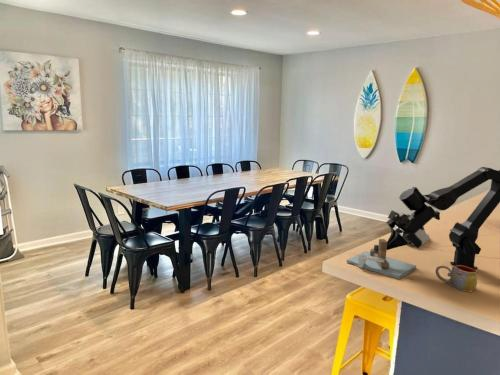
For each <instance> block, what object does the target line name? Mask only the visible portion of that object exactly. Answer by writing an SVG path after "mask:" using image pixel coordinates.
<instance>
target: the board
mask: <svg viewBox="0 0 500 375" xmlns="http://www.w3.org/2000/svg"><path fill="white" fill-rule="evenodd" d="M360 254H364V255H366V256H371V255H370V251H367V250H365V251H363V252H361V253H358V254H356V255H354V256H352V257H350V258H348V259H346V263H347V264H350V265H354V266H356V267H358V257H359V255H360ZM372 257H373V256H372ZM386 261H387V262H388V263H389V268H381V266H380V265H379V264H378V262H377V261H372V260H366V264H365V265H364V268H363V269H365V268H366V270H369V271H372V272H376V273H378V274H381V275H384V276H388V277H390V278H393V279H397V280H400V279H401V278H403V277H404V276H406V275H407V274H409V273H411V272H412V271H414V270H415V269H416V268H417V265H416V264H412V263H409V262H406V261H401V260H398V259H395V258H391V257H388V256H386Z"/></svg>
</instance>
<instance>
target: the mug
mask: <svg viewBox="0 0 500 375" xmlns="http://www.w3.org/2000/svg"><path fill="white" fill-rule="evenodd" d="M440 269H446V270H447V271H448V273H447V276H448V277H449V279H447V278H445V277H442V275H441V274H440V273H439V270H440ZM478 272H479V271H478V269H472V268H470V267H467V266H463V265H456V266H454V265H452V267H451V268H449V266H446V265H440V266H437V267H436V268H435V275H436V277H437V278H438V279H439V280H441V281H442V282H444V283H446V284H448V285H451V286H452V287H454V288H455V289H457V290H459V291H462V292H467V293H473V291H474V290H476V288H477V285H478V279H477V276H478Z"/></svg>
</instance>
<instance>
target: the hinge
mask: <svg viewBox="0 0 500 375" xmlns="http://www.w3.org/2000/svg"><path fill="white" fill-rule="evenodd" d="M423 228H424V229H423V230H421V229H420V230H419V231H417V232H416V233H415V235H416V236H417V237H418V238H419V239H420V240H421V241H422V246H423V245H424V244H426V242H428V241H429V240H430V239H431V238H430V235H429V234H428V233H427V232H426V230H425V225H424V226H423ZM409 244H410V245H412V246H413V244H412V243H411V241H410V242H409Z"/></svg>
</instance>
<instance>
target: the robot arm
mask: <svg viewBox="0 0 500 375" xmlns="http://www.w3.org/2000/svg"><path fill="white" fill-rule="evenodd" d="M488 180H491V182H490V189H489V191H488V192H487V193H486V194H485V196H484V197H483V198H482V199H481V200H480V202H479V203H478V204H477V206H476V207H475V208H474V210H473V211H472V212H471V214H470V215H469V216H468V217H467V219H466V220H465V221H464V222H458V221H457V222H455V223H454V225H453V227H452V228H450V229H449V231H450V232H449V234H448V237H449V241H450V242H451V244H452V246H453V248H455V250H454V255H453V256H454V257H453V261H450V262H449V263H450V264H451V265H452V266H456V265H463V266H467V267H470V268H472V269H475V270H478V267H477V266H476V265H475V260H476V255H479V254H480V252H481V251H482V248H481V247H480V246H479V245H478V244H477V243H476V241H477V240H478V237H479V230H480V228H481V227H482V225H483V224H484V223H485V222H486V220H487V219H488V218H489V217H490V216H491V214H492V213H493V212H494V211H495V209H496V208H497V207H498V206H499V204H500V169H499V170H496V169H494V168H491V167H486V166H481V167H479V168H478V169H477V170H476V171H474V172H472V173H471V174H469V175H467V176H465V177H464V178H462V179H460V180H459V181H456V182H454V183H453V184H452V185H450V186H447V187H444V188H439V189H437V190H434V191H431V192H430V193H429V194H422V193H421V191H420V189H419V188H418V187H416V186H412V187H411V188H409V189H406V190H405V191H402V193H401V194H400V195H399V197H398V199H399V200H400V201H401V202H402V203H403V205H404V206H405V207H406V208H407V209H408V210H409V211H413V212H412V213H411V214H405V213H403V212H401V213H398V212H397V211H394V210H391V211H390V213H389V214H388V217H387V219H388V220H387V221H386V222H385V223H386V224H387V225H388V226H389V228H390V236H389V237H388V239H387V240H386V241H387V250H386V251H389V250H392V249H395V248H399V247H403V246H410V245H412V244H413V245H412V246H413V247H414V248H416V249H417V250H418V249H420V248H421V247H422V246H423V245H422V241H421V240H420V239H419V238H418V237H417V236H416V235H415V233H416V232H417V231H419V230H420V229H421V230H423V229H425V225H427V224H428V223H429V222H430V221H431V220H432V219H435V220H438V221H440V220H441V216H440V215H441V212H439V211H446V210H448V209H449V208H451V207H452V206H453V205H454V204H455V203H456V202H457V201H458V199H459V198H460V197H462V196H464V195H465V194H466V193H468V192H470V191H471V190H473V189H475V188H476V187H479V186H481V185H482V184H484V183H486V182H487V181H488ZM434 208H435V209H437V210H435V209H434ZM438 210H439V211H438ZM423 226H424V228H423ZM410 241H411V243H412V244H409V242H410Z"/></svg>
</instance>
